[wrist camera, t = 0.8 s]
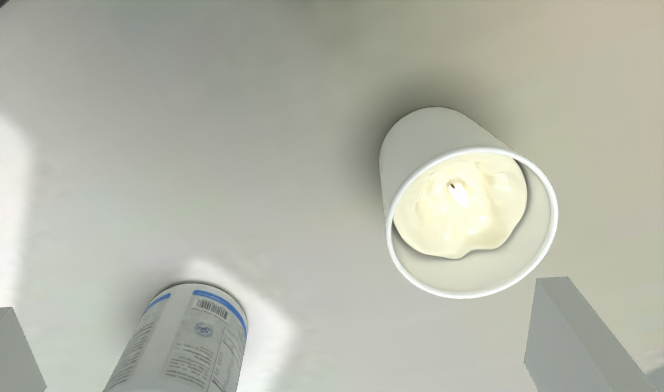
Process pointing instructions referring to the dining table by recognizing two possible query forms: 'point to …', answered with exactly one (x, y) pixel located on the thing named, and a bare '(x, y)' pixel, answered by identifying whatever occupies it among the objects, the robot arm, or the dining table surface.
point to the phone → (3, 2)
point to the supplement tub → (184, 344)
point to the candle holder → (462, 206)
